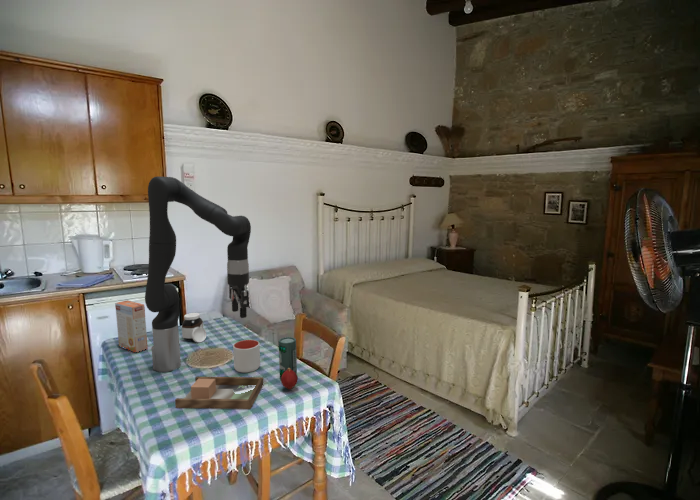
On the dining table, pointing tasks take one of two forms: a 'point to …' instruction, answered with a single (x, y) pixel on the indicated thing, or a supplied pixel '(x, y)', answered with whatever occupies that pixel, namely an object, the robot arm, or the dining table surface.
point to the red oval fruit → (289, 379)
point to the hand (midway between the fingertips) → (239, 314)
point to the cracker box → (131, 325)
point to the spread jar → (193, 328)
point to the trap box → (225, 394)
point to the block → (203, 389)
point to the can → (287, 355)
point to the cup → (246, 356)
